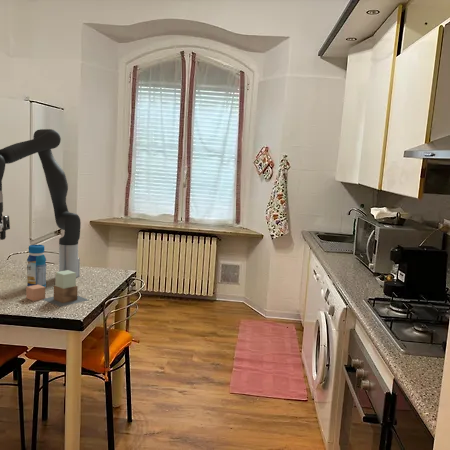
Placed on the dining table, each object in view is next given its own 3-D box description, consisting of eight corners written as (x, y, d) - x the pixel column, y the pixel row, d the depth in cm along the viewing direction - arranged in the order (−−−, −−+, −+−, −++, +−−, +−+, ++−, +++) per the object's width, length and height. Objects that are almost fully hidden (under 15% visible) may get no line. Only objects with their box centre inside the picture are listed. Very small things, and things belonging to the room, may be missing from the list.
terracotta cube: (38, 296, 203) (38, 284, 203) (45, 299, 200) (45, 287, 199) (26, 299, 199) (26, 286, 198) (33, 302, 196) (33, 289, 195)
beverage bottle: (45, 290, 213) (45, 247, 210) (25, 290, 210) (25, 247, 208) (47, 285, 221) (47, 244, 218) (28, 285, 218) (27, 244, 216)
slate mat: (70, 293, 209) (70, 292, 209) (89, 300, 201) (89, 299, 201) (41, 300, 198) (41, 299, 198) (60, 307, 190) (60, 306, 190)
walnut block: (68, 296, 204) (68, 282, 204) (77, 299, 200) (77, 286, 199) (53, 299, 199) (53, 285, 198) (62, 303, 195) (63, 289, 194)
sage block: (67, 283, 203) (67, 270, 202) (75, 286, 199) (75, 272, 198) (55, 285, 198) (55, 272, 197) (63, 288, 195) (63, 274, 194)
